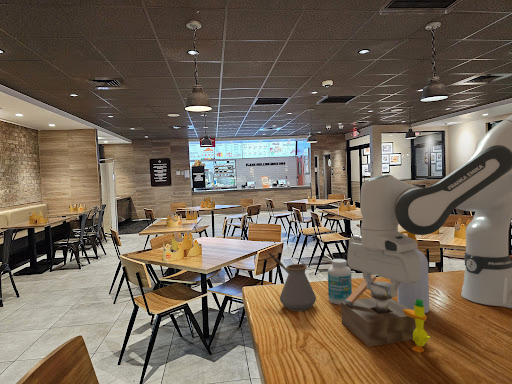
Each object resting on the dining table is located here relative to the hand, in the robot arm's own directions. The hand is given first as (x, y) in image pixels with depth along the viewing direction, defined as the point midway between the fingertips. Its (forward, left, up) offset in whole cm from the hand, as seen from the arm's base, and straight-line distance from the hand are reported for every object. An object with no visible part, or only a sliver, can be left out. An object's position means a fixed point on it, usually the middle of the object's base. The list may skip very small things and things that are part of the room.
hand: (381, 292), depth 88 cm
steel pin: (0, 0, -6) cm, 6 cm away
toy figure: (-3, +10, -11) cm, 15 cm away
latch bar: (+2, -6, -1) cm, 6 cm away
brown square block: (0, -2, -11) cm, 11 cm away
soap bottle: (-17, -11, -11) cm, 23 cm away
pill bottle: (0, -24, -11) cm, 26 cm away
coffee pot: (+16, -29, -11) cm, 35 cm away
